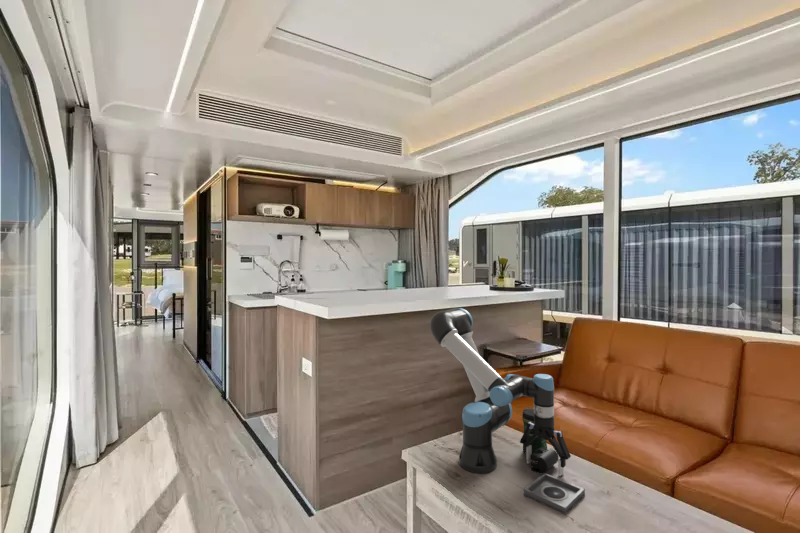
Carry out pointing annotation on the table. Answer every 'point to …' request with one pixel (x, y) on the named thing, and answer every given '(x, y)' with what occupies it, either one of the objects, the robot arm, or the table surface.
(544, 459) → the end cap
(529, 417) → the coffee jar
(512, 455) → the table surface
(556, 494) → the grey square tray
